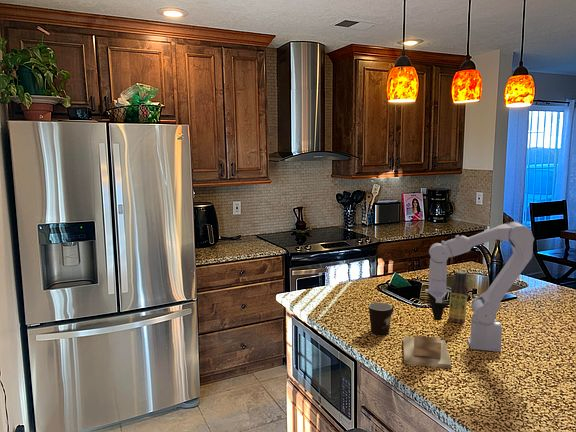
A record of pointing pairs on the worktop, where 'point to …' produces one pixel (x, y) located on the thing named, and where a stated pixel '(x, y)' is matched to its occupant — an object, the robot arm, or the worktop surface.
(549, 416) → the worktop surface
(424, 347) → the block
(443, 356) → the board
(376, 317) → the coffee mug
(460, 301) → the sauce bottle
